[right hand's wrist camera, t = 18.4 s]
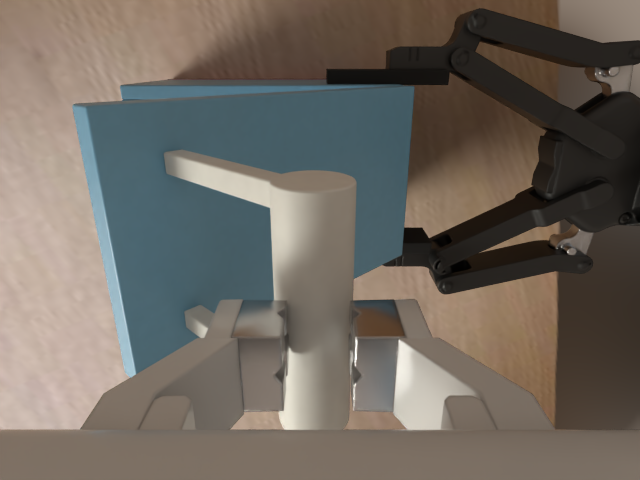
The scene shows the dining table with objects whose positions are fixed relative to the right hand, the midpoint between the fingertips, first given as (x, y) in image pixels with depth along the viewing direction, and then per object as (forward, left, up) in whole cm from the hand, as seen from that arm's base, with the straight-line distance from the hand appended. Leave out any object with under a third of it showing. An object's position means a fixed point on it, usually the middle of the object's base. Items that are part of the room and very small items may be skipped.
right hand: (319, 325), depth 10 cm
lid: (-1, -1, -10) cm, 10 cm away
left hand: (0, 0, -18) cm, 18 cm away
